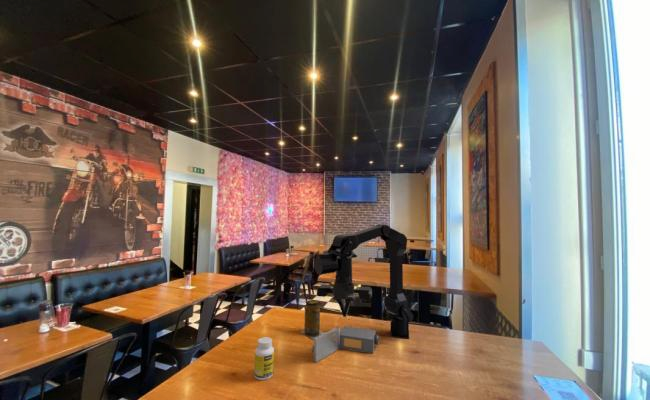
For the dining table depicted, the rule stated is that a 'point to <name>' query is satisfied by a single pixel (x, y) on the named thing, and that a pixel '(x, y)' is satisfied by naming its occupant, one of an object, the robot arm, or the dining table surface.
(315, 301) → the condiment
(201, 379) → the dining table surface
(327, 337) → the side door
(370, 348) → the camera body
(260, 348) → the supplement bottle
